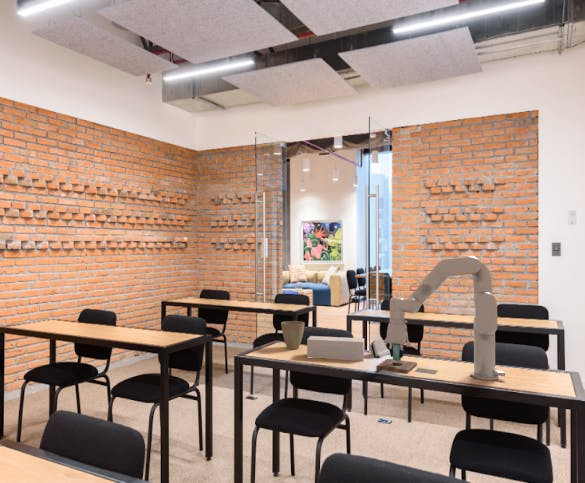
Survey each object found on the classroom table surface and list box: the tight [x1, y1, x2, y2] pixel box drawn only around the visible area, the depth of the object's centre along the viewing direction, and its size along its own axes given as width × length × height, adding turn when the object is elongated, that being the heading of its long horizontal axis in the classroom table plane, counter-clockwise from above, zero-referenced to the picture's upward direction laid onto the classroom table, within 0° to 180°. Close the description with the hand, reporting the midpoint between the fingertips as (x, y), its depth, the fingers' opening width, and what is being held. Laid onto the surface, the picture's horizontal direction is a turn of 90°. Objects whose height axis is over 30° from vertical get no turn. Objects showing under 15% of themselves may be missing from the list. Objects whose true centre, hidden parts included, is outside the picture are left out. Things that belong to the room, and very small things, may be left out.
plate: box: [414, 367, 439, 375], centre depth 228 cm, size 10×8×2 cm
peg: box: [392, 344, 402, 361], centre depth 235 cm, size 4×4×8 cm
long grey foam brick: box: [306, 335, 365, 362], centre depth 263 cm, size 32×11×11 cm, turn 78°
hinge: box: [369, 338, 390, 359], centre depth 269 cm, size 17×5×10 cm, turn 148°
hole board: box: [376, 358, 418, 374], centre depth 235 cm, size 16×18×3 cm
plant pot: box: [280, 320, 306, 350], centre depth 286 cm, size 15×15×16 cm
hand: (396, 356), depth 235 cm, fingers closed on peg, 4 cm apart
